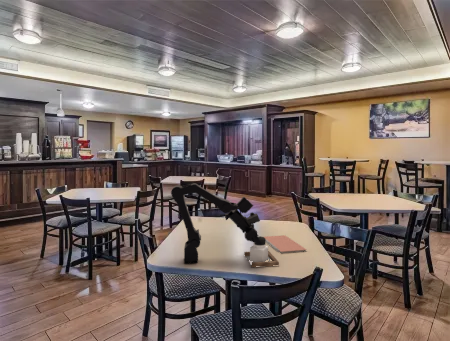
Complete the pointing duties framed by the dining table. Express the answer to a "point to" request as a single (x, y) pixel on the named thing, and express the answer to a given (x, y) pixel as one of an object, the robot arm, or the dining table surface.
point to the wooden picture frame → (269, 263)
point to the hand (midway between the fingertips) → (260, 241)
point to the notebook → (284, 244)
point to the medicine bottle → (259, 251)
